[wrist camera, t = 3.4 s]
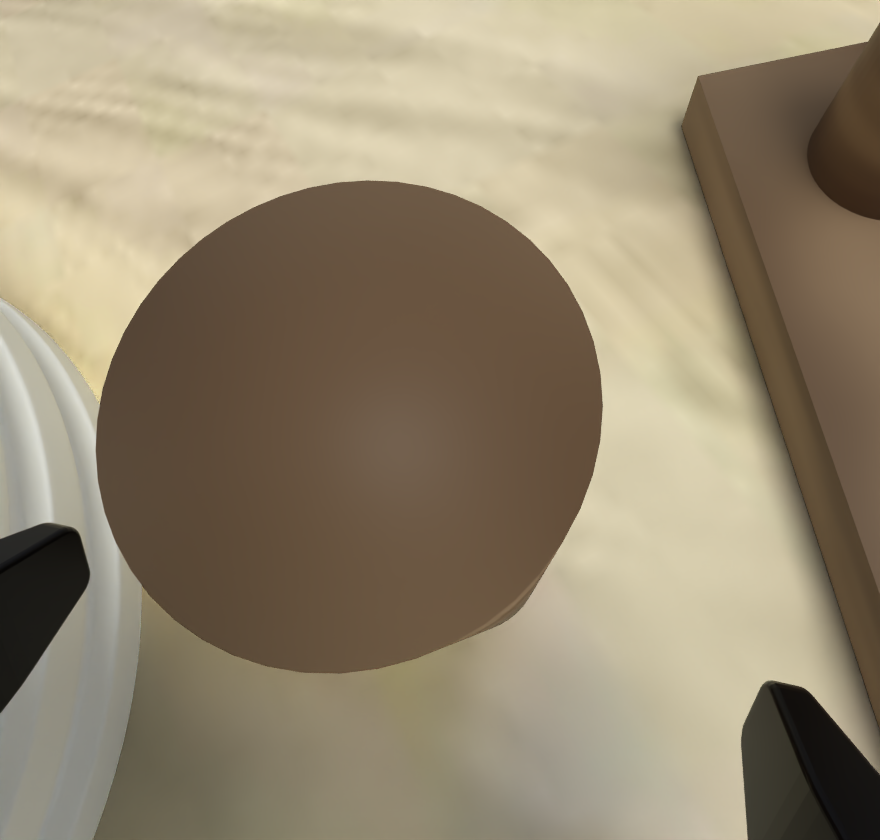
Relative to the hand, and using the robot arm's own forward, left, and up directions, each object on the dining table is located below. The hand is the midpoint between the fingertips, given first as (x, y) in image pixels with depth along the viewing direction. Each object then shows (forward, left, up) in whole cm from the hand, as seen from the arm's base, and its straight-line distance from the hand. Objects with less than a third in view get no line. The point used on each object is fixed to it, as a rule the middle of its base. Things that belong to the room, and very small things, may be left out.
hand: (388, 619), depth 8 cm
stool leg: (+1, +2, -9) cm, 9 cm away
